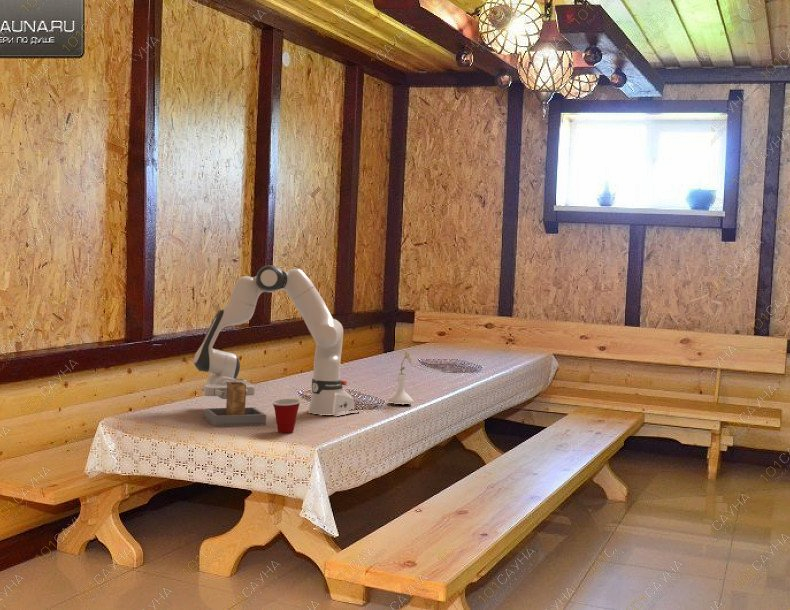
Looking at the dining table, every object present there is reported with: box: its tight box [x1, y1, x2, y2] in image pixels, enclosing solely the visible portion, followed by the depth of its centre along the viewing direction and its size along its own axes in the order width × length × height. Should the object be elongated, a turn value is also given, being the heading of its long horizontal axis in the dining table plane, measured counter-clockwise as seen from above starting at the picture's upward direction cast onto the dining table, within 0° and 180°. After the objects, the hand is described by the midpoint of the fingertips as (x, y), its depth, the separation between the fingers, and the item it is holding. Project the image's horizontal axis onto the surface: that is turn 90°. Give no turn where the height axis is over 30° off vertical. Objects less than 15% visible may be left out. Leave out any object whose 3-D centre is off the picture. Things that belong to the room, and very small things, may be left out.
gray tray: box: [204, 406, 267, 428], centre depth 405 cm, size 20×16×4 cm
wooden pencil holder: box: [225, 382, 247, 415], centre depth 404 cm, size 6×7×14 cm
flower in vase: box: [387, 347, 414, 403], centre depth 462 cm, size 13×11×25 cm
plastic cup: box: [271, 398, 301, 434], centre depth 390 cm, size 11×11×12 cm
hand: (233, 393), depth 407 cm, fingers open, 8 cm apart
